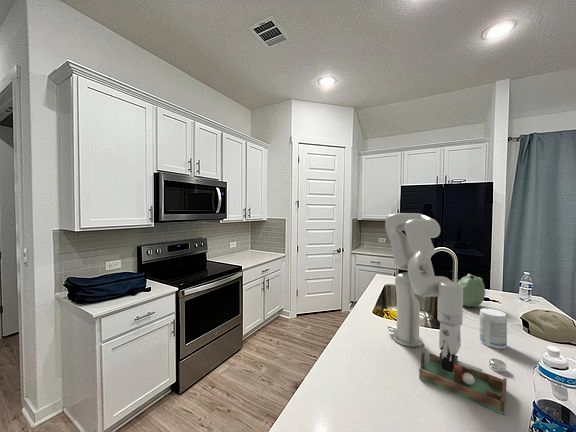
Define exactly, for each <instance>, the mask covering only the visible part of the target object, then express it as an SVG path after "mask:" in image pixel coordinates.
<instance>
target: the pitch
mask: <svg viewBox="0 0 576 432" xmlns="http://www.w3.org/2000/svg"><path fill="white" fill-rule="evenodd" d="M425 354H426V352H425V351H422V352H421V353H420V368H419V373H418V374H419V375H418V377H419V379H420V380H421V381H424V382H426V383H429V384H431V385H433V386H436V387H438V388H440V389H443V390H445V391H447V392H449V393H452V394H454V395H457V396H459V397H460V398H463V399H466V400H468V401H470V402H473V403H475V404H477V405H480V406H481V407H484V408H486V409H488V410H491V411H492V412H496V413H498V414H500V415H502V416H505V412H506V411H505V409H506V408H505V407H506V398H507V387H508V386H507V383H508V381H507V378H505V377H503V378H501V377H498V376H495V375H492V374H489V373H486V372H484V371H482V374H480V373H478V372H475V371H472V370H469V369H467V368H464V367H463V374H464V373H469V374H471V375H472V376H473V377H474V379H475V383H474V384H473V385H467V384H465V383H464V382H463V380H462V381H461V383H459V382H457V381H454V369H453V372H452V373H451V372H448V371H446V370H443V369H442V364H440V363H439V359H440V355H436V354H434V353H429V354H428V355H429V359H428V361H427V363H426V362H425V360H426V359H425V356H426V355H425ZM425 363H426V364H425Z"/></svg>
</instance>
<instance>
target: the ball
mask: <svg viewBox="0 0 576 432" xmlns="http://www.w3.org/2000/svg"><path fill="white" fill-rule="evenodd" d="M462 380H463V382H464V383H465V384H467V385H473V384H474V383H475V379H474V377H473V376H472V375H471V374H469V373H464V374H463V375H462Z"/></svg>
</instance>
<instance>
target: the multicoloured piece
mask: <svg viewBox="0 0 576 432" xmlns="http://www.w3.org/2000/svg"><path fill="white" fill-rule="evenodd" d="M442 351H443V350H442ZM442 351H441V350H440V353H439V357H440V359H439V363H440V364H442ZM448 355H449V356H450V354H448ZM452 361H453V369H454V381H457V382H459V383H461V381H462V375H463V367H464V368H467V369H469V370H472V371H475V372H478V373H480V374H482V372H483V369H482V368H480V367H477V366H474V365H471V364H467V363H465V362H462V361H460V360H459V356H458V355H457V354H456V355H453V354H452Z"/></svg>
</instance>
